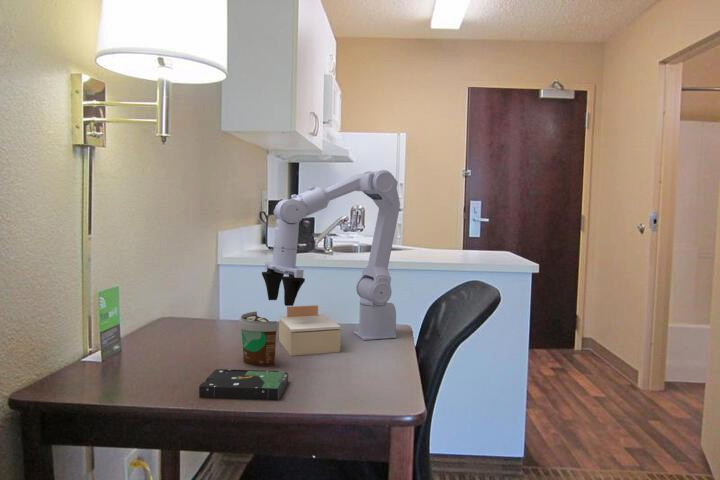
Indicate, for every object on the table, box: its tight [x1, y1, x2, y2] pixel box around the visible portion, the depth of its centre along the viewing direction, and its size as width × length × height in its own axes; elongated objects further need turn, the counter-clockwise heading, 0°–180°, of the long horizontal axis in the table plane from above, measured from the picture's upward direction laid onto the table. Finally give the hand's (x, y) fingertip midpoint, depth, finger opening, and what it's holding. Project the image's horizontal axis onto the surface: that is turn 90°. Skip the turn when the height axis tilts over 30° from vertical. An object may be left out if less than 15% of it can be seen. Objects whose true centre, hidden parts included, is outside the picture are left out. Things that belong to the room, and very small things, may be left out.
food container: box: [237, 310, 279, 367], centre depth 119 cm, size 12×6×10 cm, turn 33°
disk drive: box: [198, 368, 289, 401], centre depth 102 cm, size 10×3×15 cm
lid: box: [278, 304, 342, 332], centre depth 132 cm, size 12×14×3 cm
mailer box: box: [278, 319, 342, 357], centre depth 133 cm, size 12×14×5 cm
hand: (280, 302), depth 133 cm, fingers open, 7 cm apart
